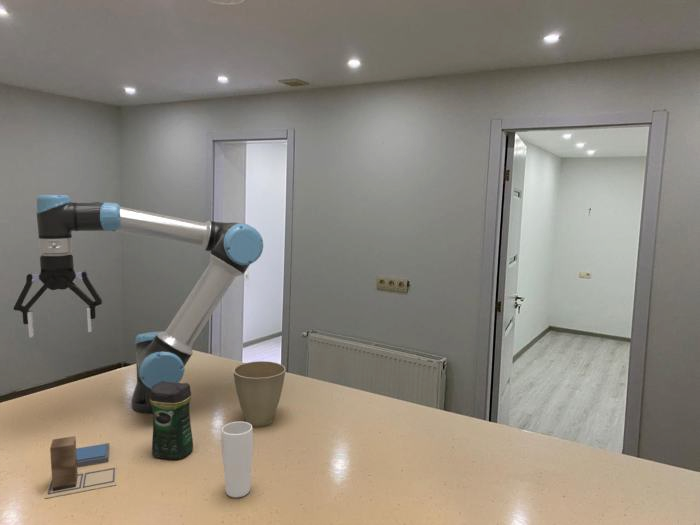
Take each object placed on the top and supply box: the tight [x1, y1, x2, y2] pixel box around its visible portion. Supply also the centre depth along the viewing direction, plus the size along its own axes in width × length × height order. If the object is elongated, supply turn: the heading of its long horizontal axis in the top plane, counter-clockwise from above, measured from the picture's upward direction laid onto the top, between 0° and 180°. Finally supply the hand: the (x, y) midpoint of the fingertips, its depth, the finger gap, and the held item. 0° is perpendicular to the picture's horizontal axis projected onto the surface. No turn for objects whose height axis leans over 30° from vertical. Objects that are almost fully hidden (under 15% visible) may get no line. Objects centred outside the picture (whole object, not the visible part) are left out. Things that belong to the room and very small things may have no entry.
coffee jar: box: [150, 381, 194, 460], centre depth 129 cm, size 10×8×19 cm
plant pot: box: [232, 360, 286, 428], centre depth 148 cm, size 15×15×16 cm
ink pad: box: [76, 442, 111, 468], centre depth 127 cm, size 10×8×2 cm
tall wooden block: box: [49, 435, 78, 491], centre depth 114 cm, size 4×4×10 cm
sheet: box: [44, 465, 118, 500], centre depth 116 cm, size 14×9×1 cm, turn 113°
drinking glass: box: [220, 421, 254, 498], centre depth 112 cm, size 7×7×15 cm
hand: (61, 333), depth 135 cm, fingers open, 13 cm apart
